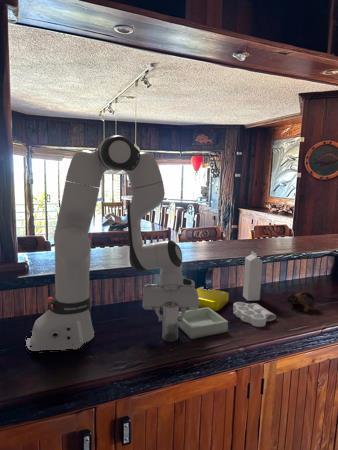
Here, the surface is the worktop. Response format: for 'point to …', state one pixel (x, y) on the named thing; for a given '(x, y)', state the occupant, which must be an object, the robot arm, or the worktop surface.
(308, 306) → the turtle figurine
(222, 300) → the element tile
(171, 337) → the gray flashlight
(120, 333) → the worktop surface
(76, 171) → the robot arm
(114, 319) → the worktop surface
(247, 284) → the milk
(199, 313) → the sage bin
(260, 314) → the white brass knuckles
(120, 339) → the worktop surface
